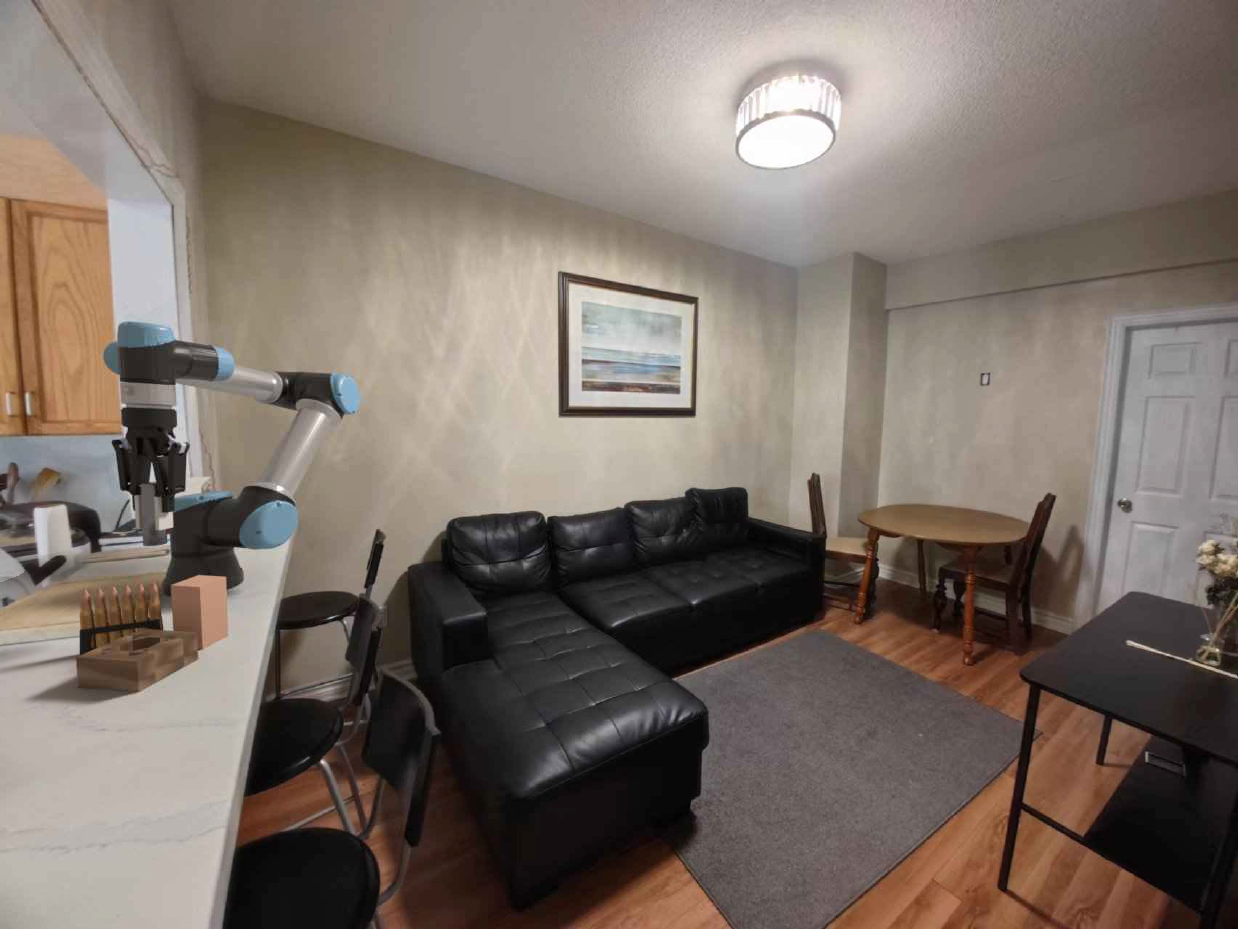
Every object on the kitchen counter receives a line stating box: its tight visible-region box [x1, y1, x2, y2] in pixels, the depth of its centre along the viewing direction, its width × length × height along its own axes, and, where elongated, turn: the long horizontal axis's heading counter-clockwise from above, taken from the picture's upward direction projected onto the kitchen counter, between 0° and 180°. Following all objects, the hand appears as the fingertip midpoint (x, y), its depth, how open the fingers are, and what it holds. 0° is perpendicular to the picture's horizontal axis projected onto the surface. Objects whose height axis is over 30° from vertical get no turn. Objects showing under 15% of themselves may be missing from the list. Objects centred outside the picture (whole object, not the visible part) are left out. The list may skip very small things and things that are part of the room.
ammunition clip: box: [79, 581, 165, 656], centre depth 85 cm, size 11×2×12 cm, turn 121°
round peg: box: [140, 481, 168, 547], centre depth 91 cm, size 3×3×12 cm
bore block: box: [75, 629, 199, 693], centre depth 79 cm, size 10×10×5 cm
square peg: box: [170, 575, 229, 650], centre depth 89 cm, size 6×6×12 cm
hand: (154, 527), depth 92 cm, fingers closed on round peg, 3 cm apart
